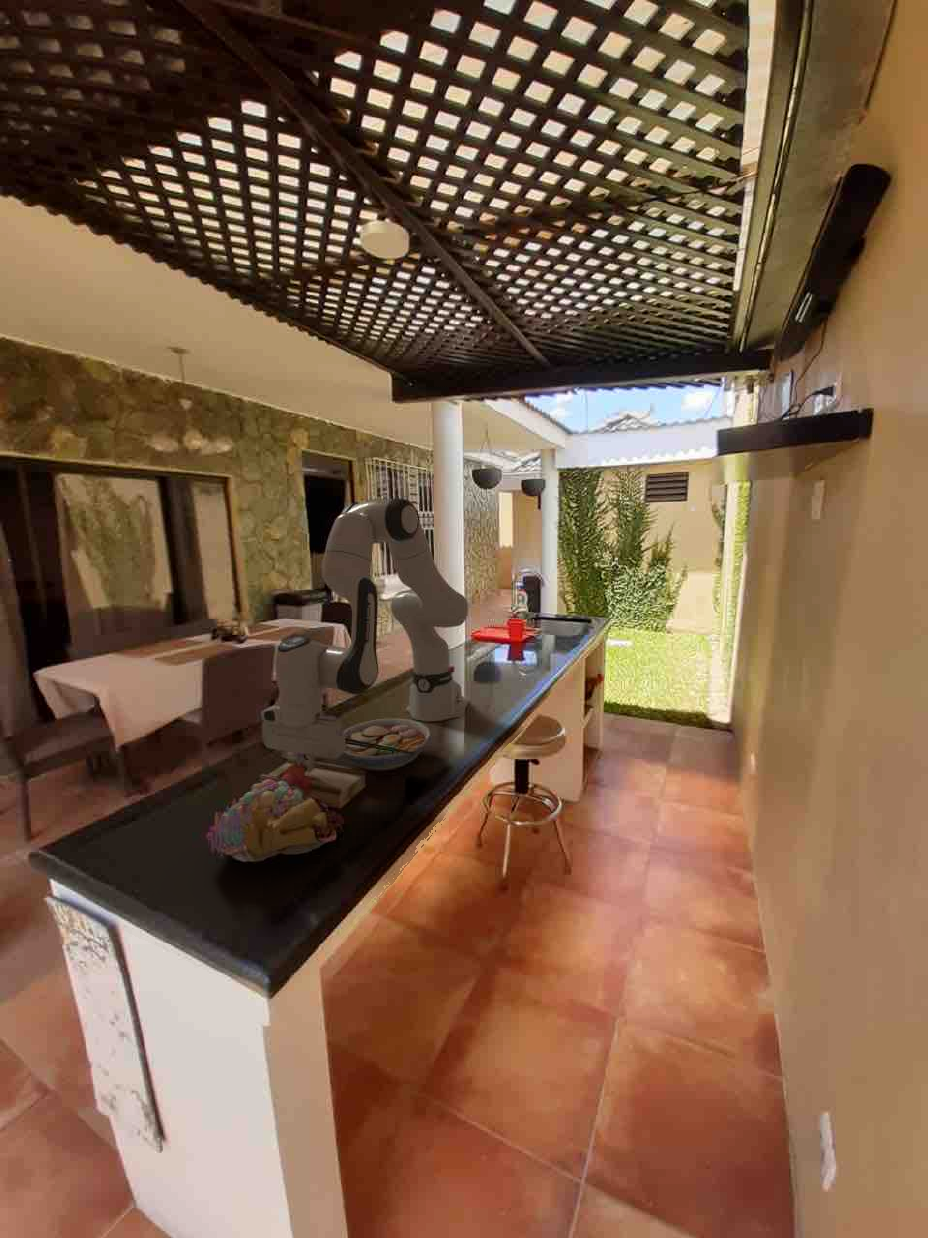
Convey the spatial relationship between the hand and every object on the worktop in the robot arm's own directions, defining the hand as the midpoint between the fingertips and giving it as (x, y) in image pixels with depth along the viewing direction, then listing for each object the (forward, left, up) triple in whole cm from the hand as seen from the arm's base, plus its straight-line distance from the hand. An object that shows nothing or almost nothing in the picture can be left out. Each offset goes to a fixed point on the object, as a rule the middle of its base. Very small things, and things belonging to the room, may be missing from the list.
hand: (306, 770), depth 109 cm
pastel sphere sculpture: (+17, +7, -2) cm, 19 cm away
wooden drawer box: (0, +2, -4) cm, 5 cm away
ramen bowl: (-16, +11, -5) cm, 20 cm away
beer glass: (-13, -15, -4) cm, 20 cm away
